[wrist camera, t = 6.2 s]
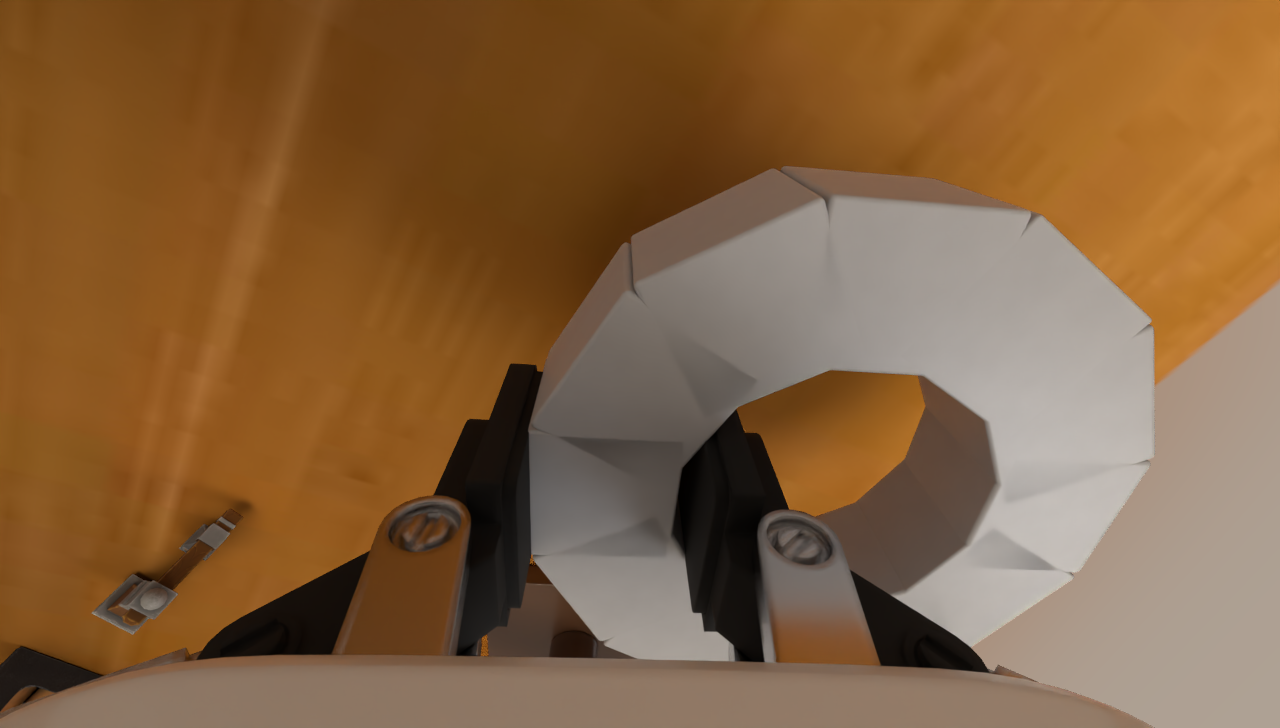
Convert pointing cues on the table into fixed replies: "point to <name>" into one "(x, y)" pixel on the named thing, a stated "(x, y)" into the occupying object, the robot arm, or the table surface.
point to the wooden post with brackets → (163, 579)
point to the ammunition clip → (36, 677)
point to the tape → (845, 341)
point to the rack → (546, 627)
